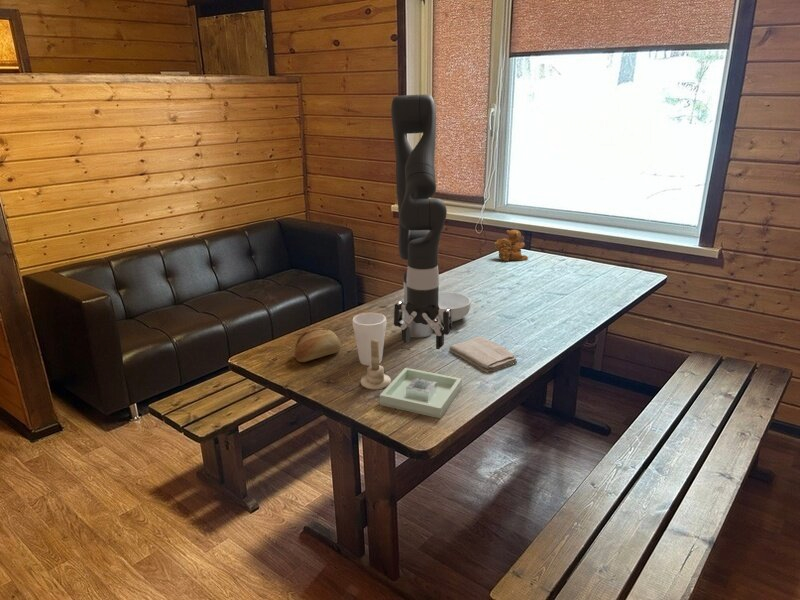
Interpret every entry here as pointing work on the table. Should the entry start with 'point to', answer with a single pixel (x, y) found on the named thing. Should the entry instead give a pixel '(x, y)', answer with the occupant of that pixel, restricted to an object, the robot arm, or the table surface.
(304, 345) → the bread roll
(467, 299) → the cereal bowl
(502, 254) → the stuffed squirrel
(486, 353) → the washcloth
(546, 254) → the table surface
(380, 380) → the beige peg stand
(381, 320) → the foam cup
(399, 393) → the tray
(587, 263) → the table surface
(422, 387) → the ring
